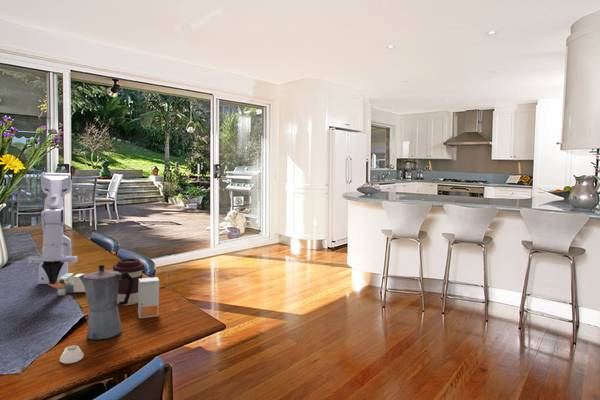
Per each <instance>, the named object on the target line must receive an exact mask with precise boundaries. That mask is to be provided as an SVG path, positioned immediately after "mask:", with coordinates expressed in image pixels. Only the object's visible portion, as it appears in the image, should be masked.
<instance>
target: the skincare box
mask: <svg viewBox="0 0 600 400" xmlns="http://www.w3.org/2000/svg"><path fill="white" fill-rule="evenodd" d="M159 304H160V278H159V277H158V276H155V277H144V278H143V277H142V279H139V285H138V303H137V316H138V319H146V318H154V317H156V318H157V317H159V309H160V305H159Z"/></svg>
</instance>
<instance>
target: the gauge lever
mask: <svg viewBox="0 0 600 400" xmlns="http://www.w3.org/2000/svg"><path fill="white" fill-rule="evenodd" d="M47 285H48V286H50V287H52V288H54V289H55V290H58V289H65V288H66V285H63V284H61V283H59V282H55V284H50V283H49V282H48V284H47Z"/></svg>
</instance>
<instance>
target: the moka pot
mask: <svg viewBox="0 0 600 400" xmlns="http://www.w3.org/2000/svg"><path fill="white" fill-rule="evenodd" d="M82 274H83V275H81V276H79V277H78V278H80V279H81V281H82V283H83V284H84V287H85V292H86V293H85V297H86V302H87V304H88V309H89V312H88V313H89V314H88V322H87V336H86V337H87V338H88V339H90V340H95V341H96V340H107V339H110V338H114V337H116V336H117V335H119V334H121V333H122V323H121V319H120V317H121V316H120V313H119V306H126V305H125V304H127V303H128V299H129V296H130V293H131V290H132V287H133V284H134V280H133V278H132V277H131V276H130V275H129V274H128V272H124V273H119V272H117V271H113V270H109V269H108V270H105V265H104V264H100V265H98V271H93V272H88V273H82ZM123 279H128V280H129V284H128V288H127V291H126V297H125V299H124V301H123V302H119V304H118V303H117V297H118V284H119V280H123Z"/></svg>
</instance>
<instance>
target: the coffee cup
mask: <svg viewBox="0 0 600 400" xmlns="http://www.w3.org/2000/svg"><path fill="white" fill-rule="evenodd" d="M144 269H145V263H143V262H141V261H140V259H138V258H130V257H129V258H123V259H119V260H118V261H117V263H114V264H113V265H112V271H117V272H119V273H124V272H128V274H129V275H130V276H131V277H132V278H133V280H134V284H133V287H132V290H131V293H130V296H129V299H128V303H127V304H125V305H124V306H133V305H136V304H138V285H139V279H142V278H143V271H144ZM128 284H129V280H128V279H123V280H119V284H118V297H117V305H119V302H123V301H124V299H125V297H126V291H127V288H128Z"/></svg>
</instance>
